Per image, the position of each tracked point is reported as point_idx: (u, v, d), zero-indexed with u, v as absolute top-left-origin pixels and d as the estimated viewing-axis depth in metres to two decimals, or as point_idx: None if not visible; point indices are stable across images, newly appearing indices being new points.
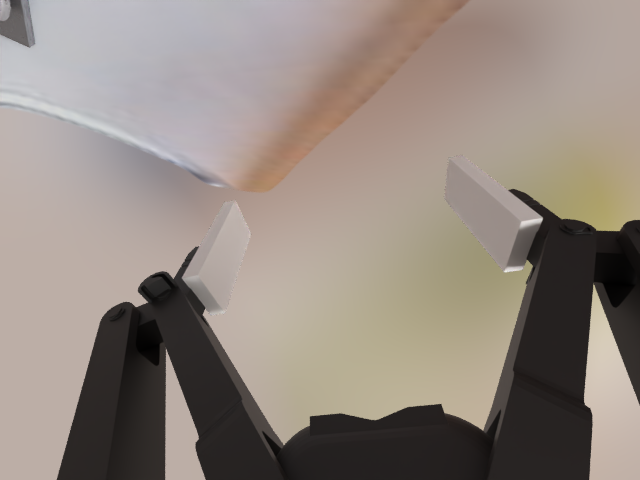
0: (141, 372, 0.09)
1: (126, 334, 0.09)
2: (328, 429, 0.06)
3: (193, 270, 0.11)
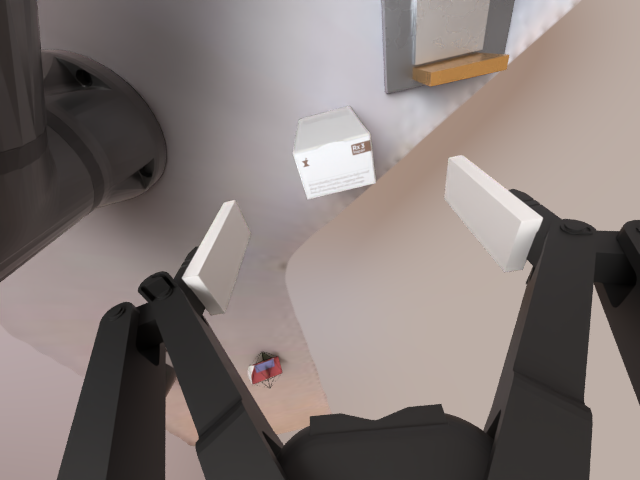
0: (141, 372, 0.09)
1: (126, 334, 0.09)
2: (328, 429, 0.06)
3: (193, 270, 0.11)
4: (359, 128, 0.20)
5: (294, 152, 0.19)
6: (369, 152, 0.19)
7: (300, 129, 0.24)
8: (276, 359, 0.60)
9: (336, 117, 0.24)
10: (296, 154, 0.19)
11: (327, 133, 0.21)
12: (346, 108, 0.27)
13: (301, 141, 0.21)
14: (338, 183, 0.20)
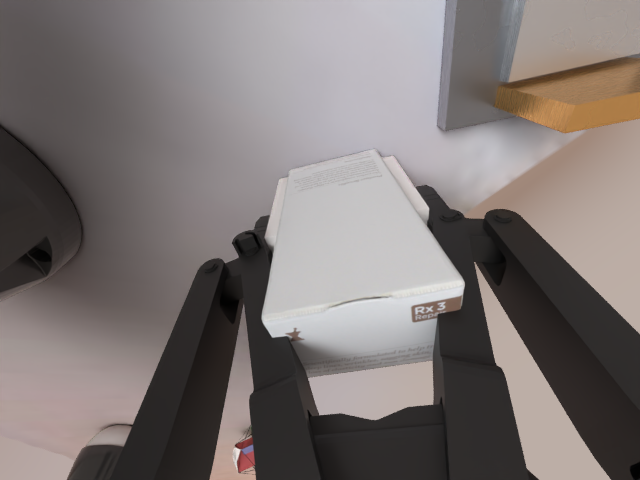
0: (219, 327, 0.10)
1: (214, 289, 0.10)
2: (328, 429, 0.06)
3: (273, 231, 0.12)
4: (424, 245, 0.08)
5: (266, 314, 0.08)
6: None
7: (289, 205, 0.13)
8: None
9: (357, 182, 0.13)
10: (270, 321, 0.08)
11: (345, 243, 0.09)
12: (371, 156, 0.15)
13: (287, 260, 0.09)
14: (370, 361, 0.09)
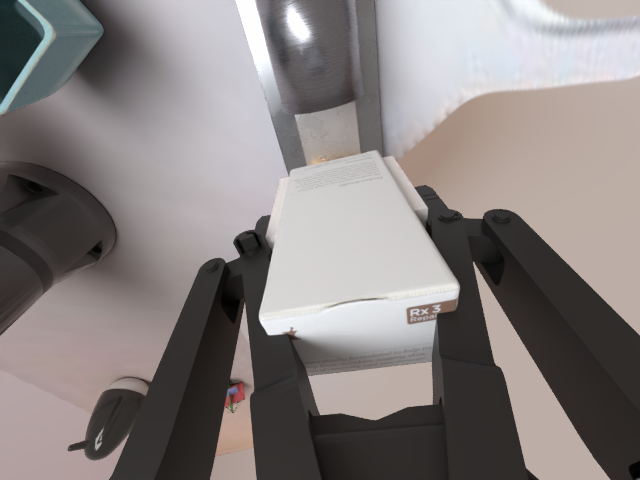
0: (220, 327, 0.10)
1: (215, 289, 0.10)
2: (328, 429, 0.06)
3: (274, 231, 0.12)
4: (421, 248, 0.08)
5: (263, 313, 0.08)
6: None
7: (289, 205, 0.13)
8: (240, 385, 0.65)
9: (357, 183, 0.13)
10: (267, 320, 0.08)
11: (343, 245, 0.09)
12: (373, 157, 0.15)
13: (285, 260, 0.09)
14: (366, 361, 0.09)
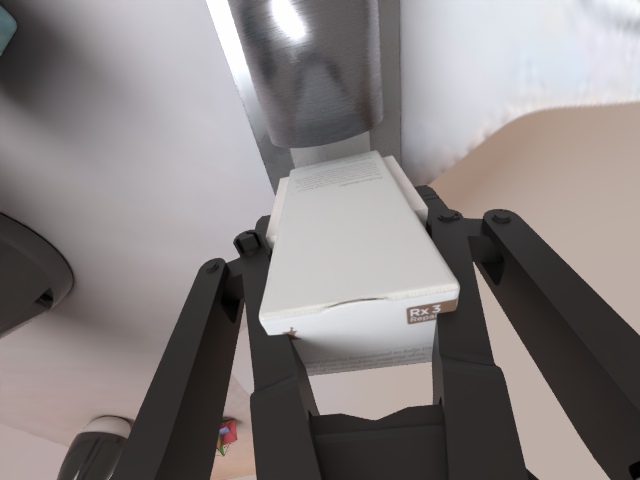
0: (220, 327, 0.10)
1: (215, 289, 0.10)
2: (328, 429, 0.06)
3: (274, 231, 0.12)
4: (421, 248, 0.08)
5: (263, 313, 0.08)
6: None
7: (289, 206, 0.13)
8: (232, 423, 0.58)
9: (357, 183, 0.13)
10: (267, 320, 0.08)
11: (343, 245, 0.09)
12: (373, 157, 0.15)
13: (285, 260, 0.09)
14: (366, 361, 0.09)
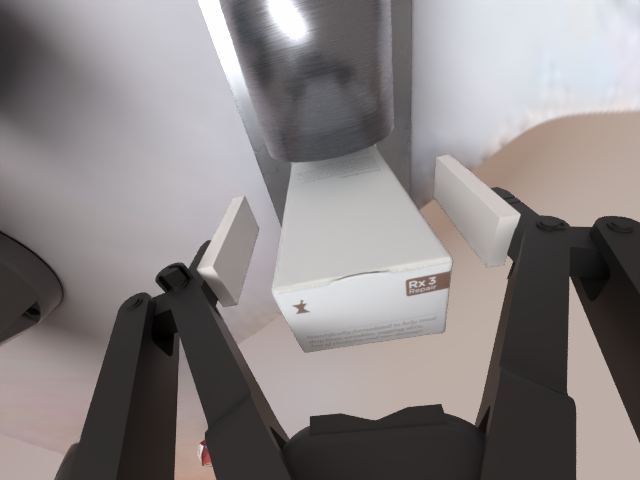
0: (155, 362, 0.09)
1: (142, 324, 0.10)
2: (328, 429, 0.06)
3: (207, 261, 0.11)
4: (418, 229, 0.09)
5: (276, 288, 0.08)
6: (444, 290, 0.08)
7: (293, 196, 0.14)
8: None
9: (357, 175, 0.14)
10: (280, 294, 0.08)
11: (346, 228, 0.10)
12: (370, 152, 0.16)
13: (293, 243, 0.10)
14: (368, 334, 0.10)
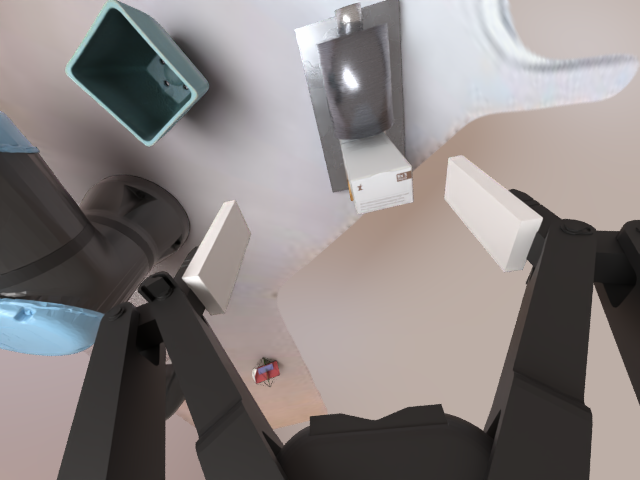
0: (141, 372, 0.09)
1: (126, 334, 0.09)
2: (328, 429, 0.06)
3: (193, 270, 0.11)
4: (401, 160, 0.25)
5: (351, 179, 0.25)
6: (410, 179, 0.24)
7: (347, 156, 0.30)
8: (275, 363, 0.74)
9: (377, 146, 0.30)
10: (353, 181, 0.25)
11: (374, 163, 0.26)
12: (383, 136, 0.32)
13: (353, 169, 0.26)
14: (383, 202, 0.26)
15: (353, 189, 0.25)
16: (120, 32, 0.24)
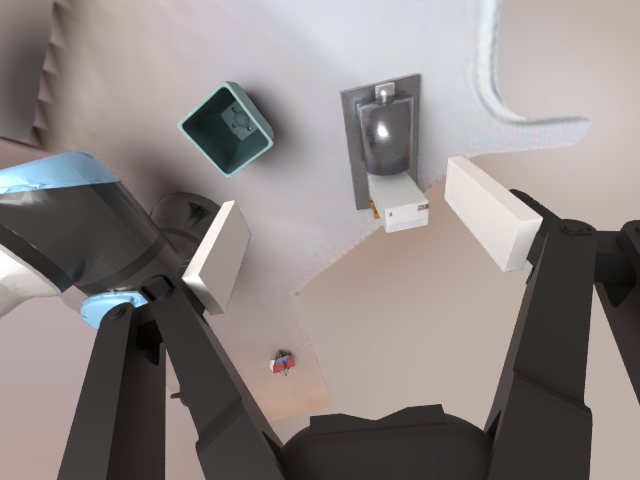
0: (141, 372, 0.09)
1: (126, 334, 0.09)
2: (328, 429, 0.06)
3: (193, 270, 0.11)
4: (420, 194, 0.35)
5: (385, 208, 0.34)
6: (427, 209, 0.34)
7: (376, 187, 0.39)
8: (289, 355, 0.82)
9: (398, 179, 0.39)
10: (386, 210, 0.34)
11: (400, 195, 0.36)
12: None
13: (384, 199, 0.36)
14: (406, 224, 0.35)
15: (385, 215, 0.34)
16: (217, 96, 0.33)
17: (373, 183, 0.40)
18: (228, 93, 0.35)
